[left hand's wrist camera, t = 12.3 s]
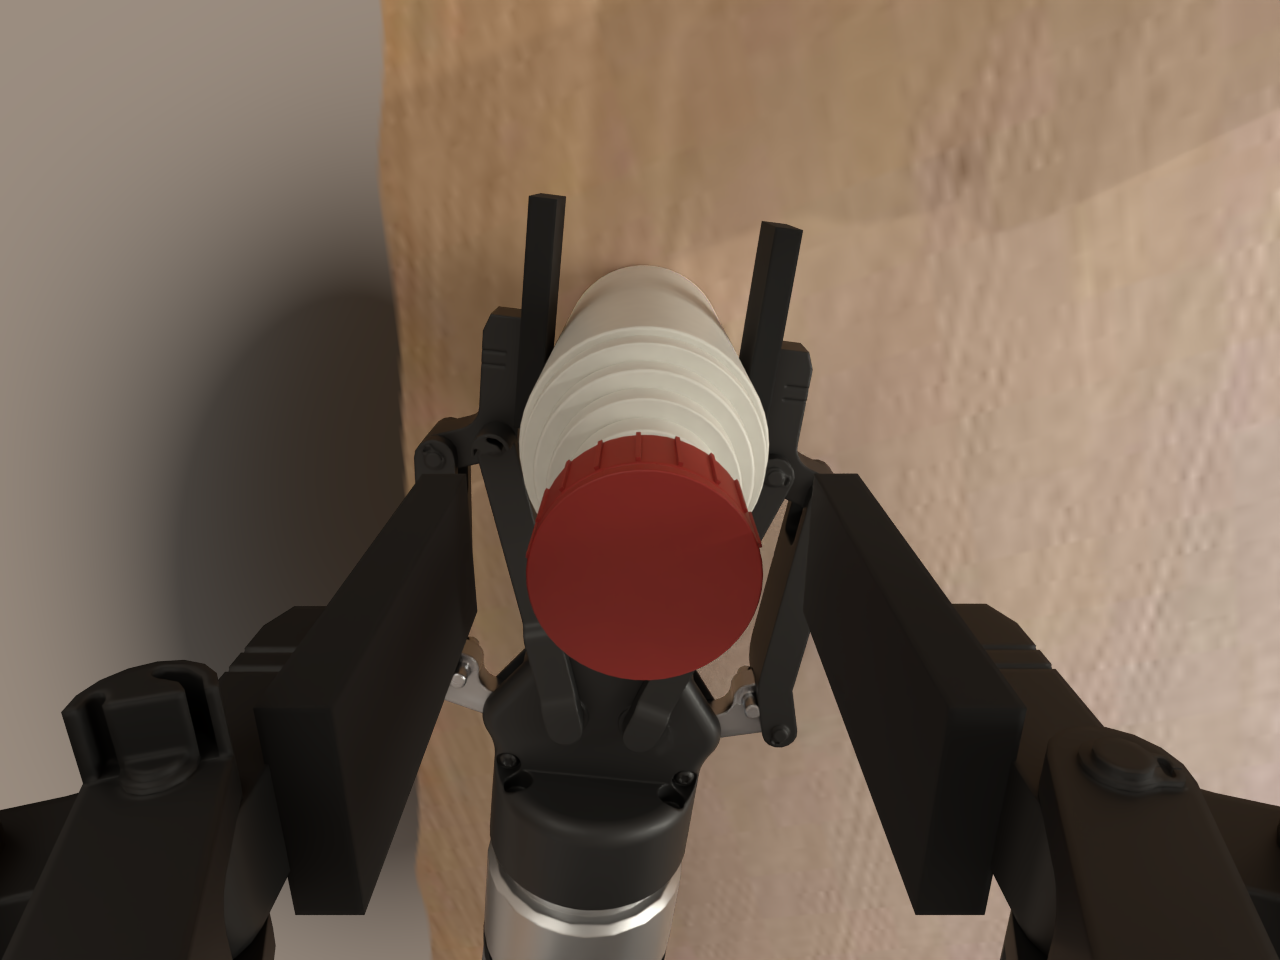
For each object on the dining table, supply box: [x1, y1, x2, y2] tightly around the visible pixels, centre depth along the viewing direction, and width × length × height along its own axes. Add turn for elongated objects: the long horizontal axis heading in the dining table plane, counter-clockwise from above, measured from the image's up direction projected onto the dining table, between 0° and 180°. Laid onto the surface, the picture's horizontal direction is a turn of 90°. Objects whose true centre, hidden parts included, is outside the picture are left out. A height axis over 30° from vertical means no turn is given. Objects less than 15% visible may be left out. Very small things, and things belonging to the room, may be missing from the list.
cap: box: [526, 432, 763, 680], centre depth 14 cm, size 4×4×2 cm
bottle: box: [519, 265, 769, 514], centre depth 22 cm, size 6×6×19 cm
